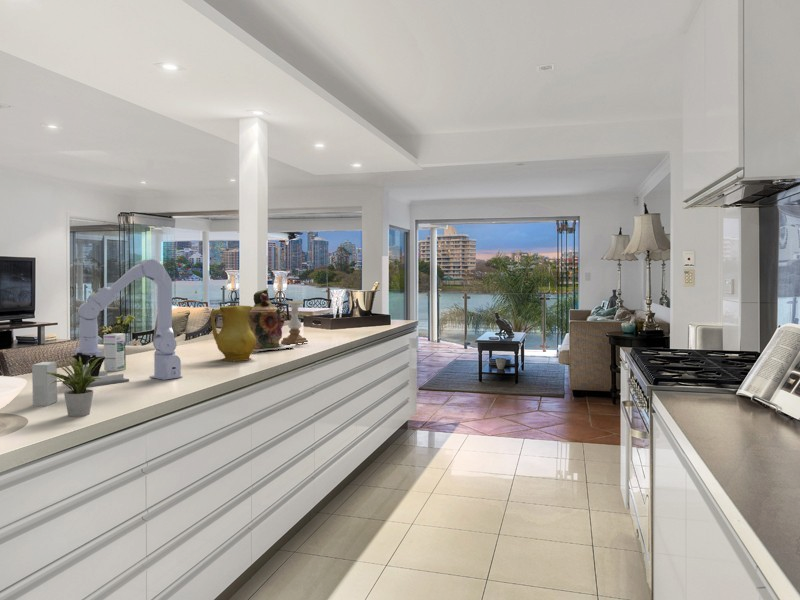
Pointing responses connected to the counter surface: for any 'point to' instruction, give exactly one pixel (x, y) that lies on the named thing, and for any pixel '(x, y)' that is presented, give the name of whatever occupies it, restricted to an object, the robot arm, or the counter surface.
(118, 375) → the rail board
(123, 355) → the syrup box
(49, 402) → the skincare box
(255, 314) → the cookie jar
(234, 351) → the pitcher
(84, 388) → the house plant
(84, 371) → the block
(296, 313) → the candle holder
